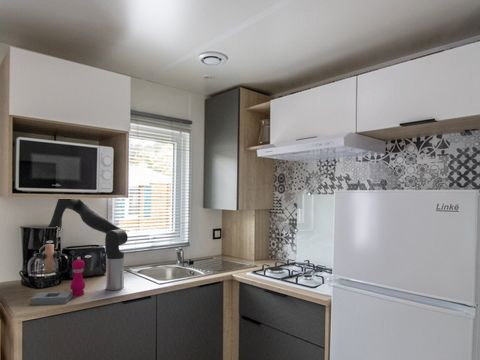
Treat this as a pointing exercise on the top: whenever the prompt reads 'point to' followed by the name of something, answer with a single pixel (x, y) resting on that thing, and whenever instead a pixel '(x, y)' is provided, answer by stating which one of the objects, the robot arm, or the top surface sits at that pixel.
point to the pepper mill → (78, 278)
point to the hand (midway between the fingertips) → (50, 256)
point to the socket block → (51, 298)
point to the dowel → (49, 257)
